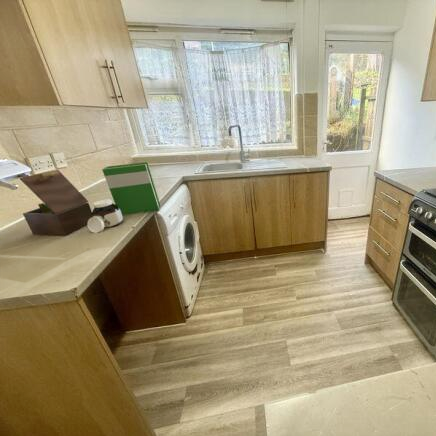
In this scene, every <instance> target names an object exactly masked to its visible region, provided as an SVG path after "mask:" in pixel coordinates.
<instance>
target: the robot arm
mask: <svg viewBox="0 0 436 436" xmlns="http://www.w3.org/2000/svg"><path fill="white" fill-rule="evenodd" d="M31 173H32V169H31V167H29V166H27V165H26V164H23V163H21V162H20V161H17V160H14V159H10V158H9V159H8V158H1V157H0V187H3V188H7V189H10V190H11V191H15V190H18V188H19V185H18V184H16V183H11V181H14V180H18V179H20V178H22V177H27V176H31Z"/></svg>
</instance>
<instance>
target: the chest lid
mask: <svg viewBox="0 0 436 436" xmlns="http://www.w3.org/2000/svg"><path fill="white" fill-rule="evenodd" d="M19 180H20V181H21V182H22V183H23V184H24V185H25V186H26V187H27V188H28V189H29V190H30V191H31V192H32V193H33V194H34V195H35V196H36V197H37V198H38V199H39V200H40V201H41V202H42V203H44V204H46V205H47V206H48V207H49V208H50V209H51V210H52V211H53V212H54V213H55V214H58V213H60V212H63V211H66V210H68V209H71V208H74V207H76V206H79V205H82V204H84V203H89V200H88V199H87V198H86V197H85V196H84V195H83V194H82V193H81V192H80V191H79V189H78V188H76V186H75V185H74V184H73V183H72V182H71V181H70V180H69V179H68V178H67V177H66V176H65V175H64V174H63V173H62V172H61V171H60V170H59V169H55V170H50V171H45V172H41V173H36V174H32V175H30V176H27V177H21V178H19Z"/></svg>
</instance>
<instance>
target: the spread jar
mask: <svg viewBox="0 0 436 436" xmlns="http://www.w3.org/2000/svg"><path fill="white" fill-rule="evenodd" d="M92 206H93V210H92V216H93V217H92V218H90V219H89V220H88V223H87V226H86V227H87V228H88V230H89V231H90V232H91V233H92V234H93V233H94V234H97V233H98V234H99V233H101V232H102V231H104V229H111V228H114V227H117V226H120V225H121V224H122V222H123V221H124V217H123V216H124V215H123V216H122V213H121V211H120V208H119V207H118V206H117V205H115V203H113V200H112V199H110V198H106V199H105V198H104V199H101V200H97V201H94V202H92Z"/></svg>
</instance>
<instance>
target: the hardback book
mask: <svg viewBox="0 0 436 436" xmlns="http://www.w3.org/2000/svg"><path fill="white" fill-rule="evenodd" d="M101 171H102V173H103V176H104V178H105V181H106V184H107V187H108V189H109V191H110V194H111V196H112V199H113V202H114V204H115V205H117V206H118V207H119V208H120V211H121V213H122V216H130V215H134V214H142V213H150V212H156V211H160V207H161V203H160V199H159V196H158V193H157V189H156V186H155V182H154V178H153V176H152V173H151V170H150V166H149V163H148V161H144V162H135V163H127V164H118V165H109V166H105V167H104V168H102V169H101Z"/></svg>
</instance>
